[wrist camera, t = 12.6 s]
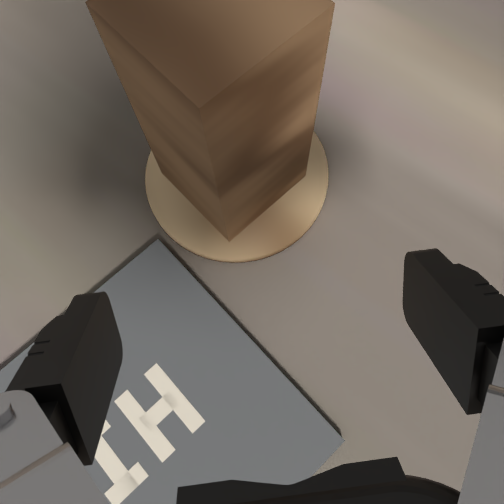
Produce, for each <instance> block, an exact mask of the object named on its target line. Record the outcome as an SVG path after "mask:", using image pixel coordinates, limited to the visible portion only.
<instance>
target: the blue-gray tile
mask: <svg viewBox="0 0 504 504" xmlns="http://www.w3.org/2000/svg"><path fill="white" fill-rule="evenodd" d="M103 291H104V292H106V293H107V295H108V297H109V299H110V303H111V306H112V310H113V313H114V316H115V320H116V323H117V327H118V330H119V333H120V337H121V341H122V347H123V359H122V364H121V367H120V371H119V374H118V378H117V381H116V385H115V388H114V392H113V395H112V399H111V402H110V406H109V409H108V413H107V416H106V420H105V423H104V426H103V430H102V433H101V437H100V440H99V444H98V447H97V451H96V454H95V458H94V461H93V465H87V466H84V467H85V468H86V470H87V471H88V473H89V474H90V476H91V478H92V479H93V481H94V482H95V484H96V485H97V487H98V488H99V490H100V491H101V493H102V494H103V496H104V497H105V499H106V500H107V502H108V503H109V504H176V500H177V489H178V487H182V486H189V485H196V484H204V483H211V482H218V481H225V480H241V481H251V482H261V483H271V484H281V485H290V484H294V483H297V482H300V481H302V480H305V479H307V478H310V477H311V476H312V475H313V474H314V473H315V472H316V471H317V470H318V469H319V468H320V467H321V466H322V465H323V463H324V462H325V461H326V460H327V459H328V458H329V457H330V456H331V455H332V454H333V453H334V452H335V451H336V450H337V449H338V448H339V446H340V445H341V444H342V443H343V442H344V441H345V440H344V439H343V438H342V437H341V436H340V435H339V434H338V433H337V432H336V431H335V429H334V428H333V427H332V426H331V425H330V424H329V423H328V422H327V421H326V420H325V419H324V418H323V416H322V415H321V414H320V413H319V412H318V411H317V410H316V409H315V408H314V407H313V406H312V405H311V403H310V402H309V401H308V400H307V399H306V398H305V397H304V396H303V395H302V394H301V393H300V392H299V391H298V389H297V388H296V387H295V386H294V385H293V384H292V383H291V382H290V381H289V380H288V379H287V378H286V376H285V375H284V374H283V373H282V372H281V371H280V370H279V369H278V368H277V367H276V366H275V365H274V363H273V362H272V361H271V360H270V359H269V358H268V357H267V356H266V355H265V354H264V353H263V352H262V351H261V349H260V348H259V347H258V346H257V345H256V344H255V343H254V342H253V341H252V340H251V339H250V338H249V336H248V335H247V334H246V333H245V332H244V331H243V330H242V329H241V328H240V327H239V326H238V325H237V323H236V322H235V321H234V320H233V319H232V318H231V317H230V316H229V315H228V314H227V313H226V312H225V311H224V309H223V308H222V307H221V306H220V305H219V304H218V303H217V302H216V301H215V300H214V299H213V298H212V296H211V295H210V294H209V293H208V292H207V291H206V290H205V289H204V288H203V287H202V286H201V285H200V283H199V282H198V281H197V280H196V279H195V278H194V277H193V276H192V275H191V274H190V273H189V272H188V271H187V269H186V268H185V267H184V266H183V265H182V264H181V263H180V262H179V261H178V260H177V259H176V258H175V256H174V255H173V254H172V253H171V252H170V251H169V250H168V249H167V248H166V247H165V246H164V245H163V243H162V242H161V241H160V240H159V239H157V240H156V241H155V242H153V243H152V244H151V245H150V246H149V247H147V248H146V249H145V250H144V251H143V252H142V253H140V254H139V255H138V256H137V257H136V258H134V259H133V260H132V261H131V262H130V263H128V264H127V265H126V266H125V267H124V268H122V269H121V270H120V271H119V272H118V273H116V274H115V275H114V276H113V277H112V278H110V279H109V280H108V281H107V282H106V283H104V284H103V285H102V286H101V287H100V288H98V289H97V290H96V291H95V292H94V293H96V292H103ZM32 345H34V343H33V344H31V345H30V346H29V347H28V348H27V349H25V350H24V351H23V352H22V353H21V354H19V355H18V356H17V357H16V358H15V359H13V360H12V361H11V362H10V363H9V364H7V365H6V366H5V367H4V368H3V369H1V370H0V393H3V392H5V391H6V389H7V387H8V386H9V384H10V382H11V381H12V379H13V377H14V376H15V374H16V372H17V371H18V369H19V367H20V365H21V364H22V362H23V360H24V359H25V357H26V356H28V352H29V350H30V348H31V347H32Z"/></svg>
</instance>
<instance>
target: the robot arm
mask: <svg viewBox="0 0 504 504" xmlns="http://www.w3.org/2000/svg"><path fill="white" fill-rule="evenodd" d="M403 310H404V315H405V319H406V321H407V323H408V325H409V327H410V328H411V330H412V331H413V333H414V335H415V336H416V338H417V339H418V341H419V342H420V344H421V345H422V347H423V348H424V350H425V351H426V353H427V354H428V356H429V357H430V359H431V361H432V362H433V364H434V365H435V367H436V368H437V370H438V371H439V373H440V374H441V376H442V377H443V379H444V380H445V382H446V383H447V385H448V387H449V388H450V390H451V391H452V393H453V394H454V396H455V397H456V399H457V400H458V402H459V403H460V405H461V406H462V408H463V410H464V411H465V413H466V414H467V415H470V414H477V413H481V417H480V421H479V425H478V428H477V432H476V436H475V440H474V443H473V447H472V451H471V455H470V459H469V462H468V466H467V470H466V474H465V477H464V481H463V485H462V489H461V492H459V491H457V490H455V489H453V488H451V487H449V486H446V485H444V484H442V483H439V482H436V481H432V480H429V479H426V478H421V477H416V476H411V475H405V474H404V472H403V469H402V467H401V465H400V462H399V460H398V458H397V457H392V458H385V459H377V460H370V461H363V462H356V463H349V464H343V465H340V466H338V467H335V468H333V469H330V470H328V471H325V472H323V473H320V474H317V475H315V476H312V477H310V478H307V479H305V480H302V481H300V482H297V483H294V484H290V485H281V484H271V483H261V482H251V481H241V480H225V481H218V482H211V483H204V484H196V485H189V486H182V487H178V489H177V500H176V504H504V296H503V295H502V294H499V291H497V290H496V289H495V288H494V287H493V286H492V285H489V282H488V281H487V280H486V279H484V278H483V277H482V276H481V275H480V274H479V273H478V272H476V271H474V270H472V269H470V268H468V267H466V266H463V265H461V264H453V263H452V262H451V261H450V260H449V259H447V258H446V257H445V256H444V255H443V254H442V253H441V252H440V251H439V250H438V249H436V248H435V249H427V250H419V251H412V252H407V253H406V255H405V260H404V282H403ZM122 359H123V347H122V341H121V337H120V333H119V330H118V327H117V323H116V320H115V316H114V313H113V310H112V306H111V303H110V299H109V297H108V295H107V293H106V292H104V291H103V292H96V293H88V294H81V295H76V296H74V298H73V300H72V301H71V303H70V305H69V307H68V309H67V311H66V313H65V314H64V315H62V316H57V317H55V318H54V319H53V320H52V321H51V322H50V323H48V324H47V325H46V326H45V327H44V328H43V329H42V330H41V332H40V333H39V335H38V337H37V338H36V340H35V342H34V345H32V347H31V348H30V350H29V352H28V356H26V357H25V359H24V360H23V362H22V364H21V365H20V367H19V369H18V371H17V372H16V374H15V376H14V377H13V379H12V381H11V382H10V384H9V386H8V387H7V389H6V391H5V392H3V393H0V504H109V503H108V502H107V500H106V499H105V497H104V496H103V494H102V493H101V491H100V490H99V488H98V487H97V485H96V484H95V482H94V481H93V479H92V478H91V476H90V474H89V473H88V471H87V470H86V468H85V467H84V466H87V465H93V461H94V458H95V454H96V451H97V447H98V444H99V440H100V437H101V433H102V430H103V426H104V423H105V420H106V416H107V413H108V409H109V406H110V402H111V399H112V395H113V392H114V388H115V385H116V381H117V378H118V374H119V371H120V367H121V364H122Z"/></svg>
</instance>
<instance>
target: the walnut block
mask: <svg viewBox="0 0 504 504" xmlns="http://www.w3.org/2000/svg"><path fill="white" fill-rule="evenodd" d="M86 4H87V7H88V9H89V11H90V13H91V16H92V18H93V20H94V22H95V25H96V27H97V29H98V31H99V34H100V36H101V38H102V40H103V43H104V45H105V47H106V49H107V52H108V54H109V56H110V58H111V61H112V63H113V65H114V67H115V69H116V72H117V74H118V76H119V78H120V81H121V83H122V85H123V87H124V90H125V92H126V94H127V96H128V99H129V101H130V103H131V105H132V108H133V110H134V112H135V114H136V117H137V119H138V121H139V123H140V125H141V128H142V130H143V132H144V134H145V137H146V139H147V141H148V143H149V146H150V148H151V150H152V152H153V155H154V157H155V159H156V161H157V164H158V166H159V168H160V170H161V173H162V174H163V175H164V176H165V177H166V178H167V179H168V180H169V181H170V182H171V183H172V184H173V185H174V186H175V187H176V188H177V189H178V190H179V191H180V192H181V193H182V194H183V195H184V196H185V197H186V198H187V199H188V200H189V201H190V202H191V204H192V205H193V206H194V207H195V208H196V209H197V210H198V211H199V212H200V213H201V214H202V215H203V216H204V217H205V218H206V219H207V220H208V221H209V222H210V223H211V224H212V225H213V226H214V227H215V228H216V229H217V230H218V231H219V232H220V233H221V234H222V235H223V236H224V237H225V238H226V239H227V240H228V241H229V242H230V241H231V240H232V239H233V238H235V237H236V236H237V235H238V234H239V233H240V232H241V231H243V230H244V229H245V228H246V227H247V226H248V225H250V224H251V223H252V222H253V221H254V220H255V219H256V218H258V217H259V216H260V215H261V214H262V213H263V212H265V211H266V210H267V209H268V208H269V207H270V206H271V205H273V204H274V203H275V202H276V201H277V200H278V199H280V198H281V197H282V196H283V195H284V194H285V193H286V192H288V191H289V190H290V189H291V188H292V187H293V186H295V185H296V184H297V183H298V182H299V181H300V180H301V179H303V178H304V177H305V176H306V171H307V165H308V159H309V153H310V147H311V141H312V135H313V130H314V124H315V118H316V112H317V106H318V100H319V94H320V88H321V82H322V77H323V71H324V65H325V59H326V53H327V47H328V41H329V35H330V29H331V24H332V18H333V12H334V6H335V3H334V2H333V1H331V0H88V1H86Z"/></svg>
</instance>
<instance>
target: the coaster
mask: <svg viewBox="0 0 504 504" xmlns="http://www.w3.org/2000/svg"><path fill="white" fill-rule="evenodd" d="M328 177H329V172H328V162H327V158H326V154H325V151H324V149H323V146H322V144H321V142H320V140H319V138H318V137H317V135H316V133H315V132H314V131H313V135H312V141H311V147H310V153H309V159H308V165H307V171H306V176H305V177H304V178H303V179H301V180H300V181H299V182H298V183H297V184H296V185H295V186H293V187H292V188H291V189H290V190H289V191H288V192H286V193H285V194H284V195H283V196H282V197H281V198H280V199H278V200H277V201H276V202H275V203H274V204H273V205H271V206H270V207H269V208H268V209H267V210H266V211H265V212H263V213H262V214H261V215H260V216H259V217H258V218H256V219H255V220H254V221H253V222H252V223H251V224H250V225H248V226H247V227H246V228H245V229H244V230H243V231H241V232H240V233H239V234H238V235H237V236H236V237H235V238H233V239H232V240H231V241H230V242H229V241H228V240H227V239H226V238H225V237H224V236H223V235H222V234H221V233H220V232H219V231H218V230H217V229H216V228H215V227H214V226H213V225H212V224H211V223H210V222H209V221H208V220H207V219H206V218H205V217H204V216H203V215H202V214H201V213H200V212H199V211H198V210H197V209H196V208H195V207H194V206H193V205H192V204H191V202H190V201H189V200H188V199H187V198H186V197H185V196H184V195H183V194H182V193H181V192H180V191H179V190H178V189H177V188H176V187H175V186H174V185H173V184H172V183H171V182H170V181H169V180H168V179H167V178H166V177H165V176H164V175H163V174H162V173H161V170H160V168H159V166H158V164H157V161H156V159H155V157H154V155H153V152H152V150H151V152H150V155H149V158H148V161H147V166H146V173H145V186H146V194H147V198H148V202H149V204H150V207H151V209H152V212H153V214H154V215H155V217H156V219H157V220H158V222H159V224H160V226H161V227H162V228H163V229H164V231H165V232H166V233H167V234H168V235H169V236H170V237H171V238H172V239H173V240H174V241H175V242H176V243H178V244H179V245H180V246H182V247H183V248H185V249H186V250H188V251H190V252H192V253H194V254H196V255H198V256H201V257H204V258H207V259H211V260H215V261H220V262H230V263H238V262H250V261H256V260H260V259H263V258H267V257H270V256H272V255H274V254H277V253H279V252H281V251H283V250H284V249H286V248H288V247H289V246H291V245H292V244H294V243H295V242H296V241H297V240H299V239H300V238H301V237H302V236H303V235H304V234H305V233H306V232H307V231H308V230H309V229H310V227H311V226H312V224H313V223H314V222H315V220H316V218H317V217H318V215H319V213H320V211H321V208H322V206H323V203H324V200H325V197H326V192H327V187H328Z"/></svg>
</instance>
